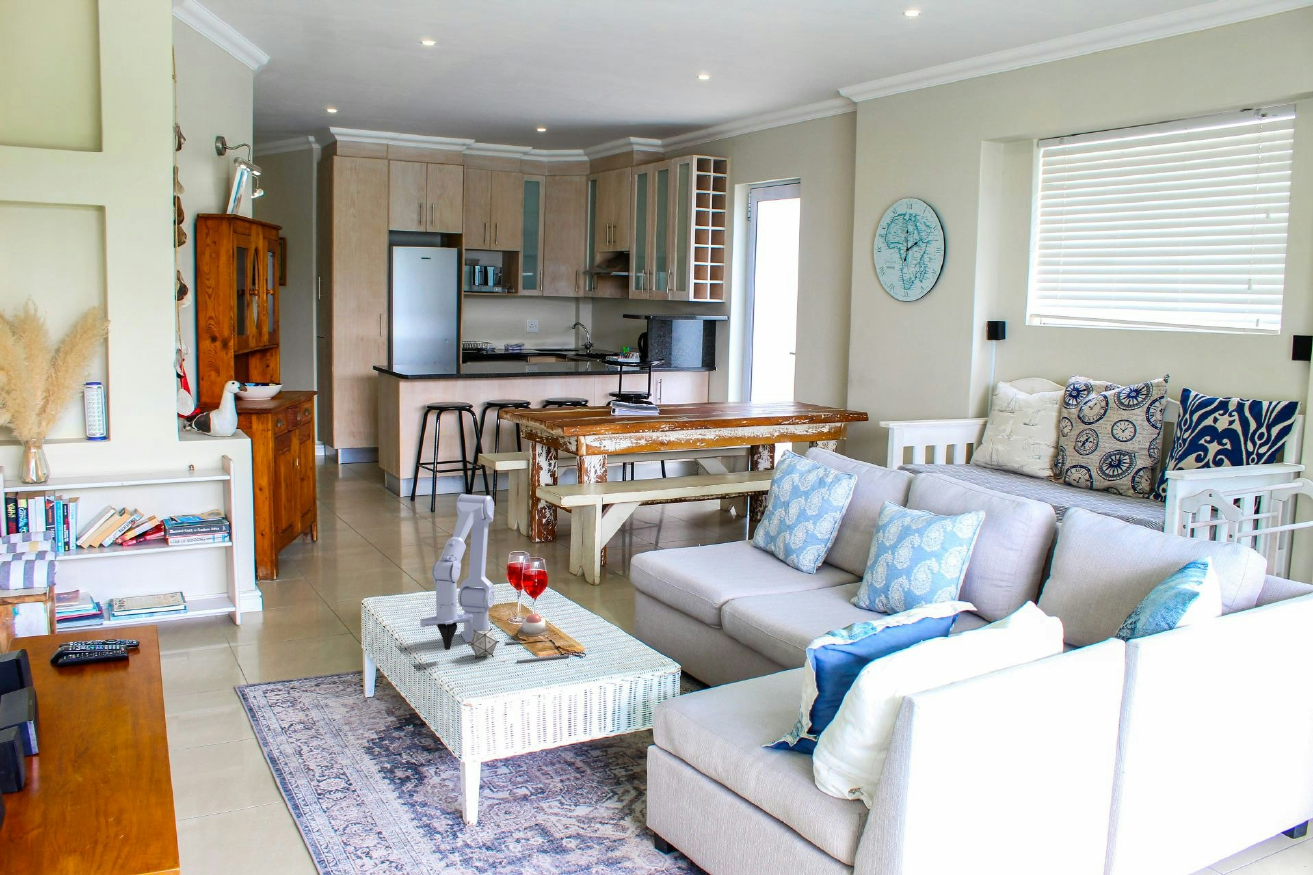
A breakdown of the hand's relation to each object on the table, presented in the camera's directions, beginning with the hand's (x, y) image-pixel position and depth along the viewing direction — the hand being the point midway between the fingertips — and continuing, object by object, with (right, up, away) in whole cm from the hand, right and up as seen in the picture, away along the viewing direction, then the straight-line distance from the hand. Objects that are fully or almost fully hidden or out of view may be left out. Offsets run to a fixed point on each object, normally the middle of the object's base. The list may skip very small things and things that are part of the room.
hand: (447, 648), depth 297 cm
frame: (+24, -3, +9) cm, 26 cm away
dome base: (+22, -1, +23) cm, 32 cm away
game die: (+10, -3, +4) cm, 11 cm away
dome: (+22, +1, +23) cm, 32 cm away
